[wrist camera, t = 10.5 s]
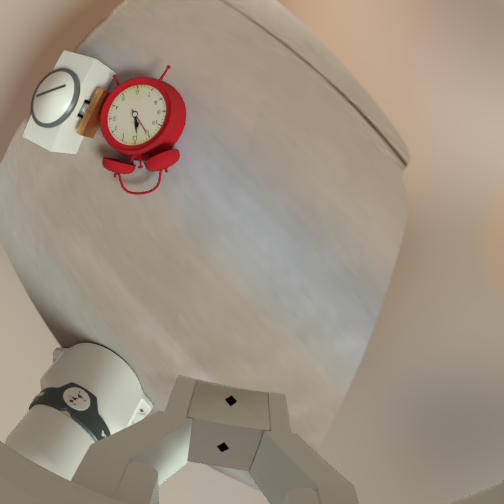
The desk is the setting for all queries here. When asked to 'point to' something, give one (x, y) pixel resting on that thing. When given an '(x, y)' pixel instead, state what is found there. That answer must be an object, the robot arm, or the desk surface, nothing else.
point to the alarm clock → (143, 125)
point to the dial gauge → (65, 101)
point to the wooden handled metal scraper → (92, 114)
